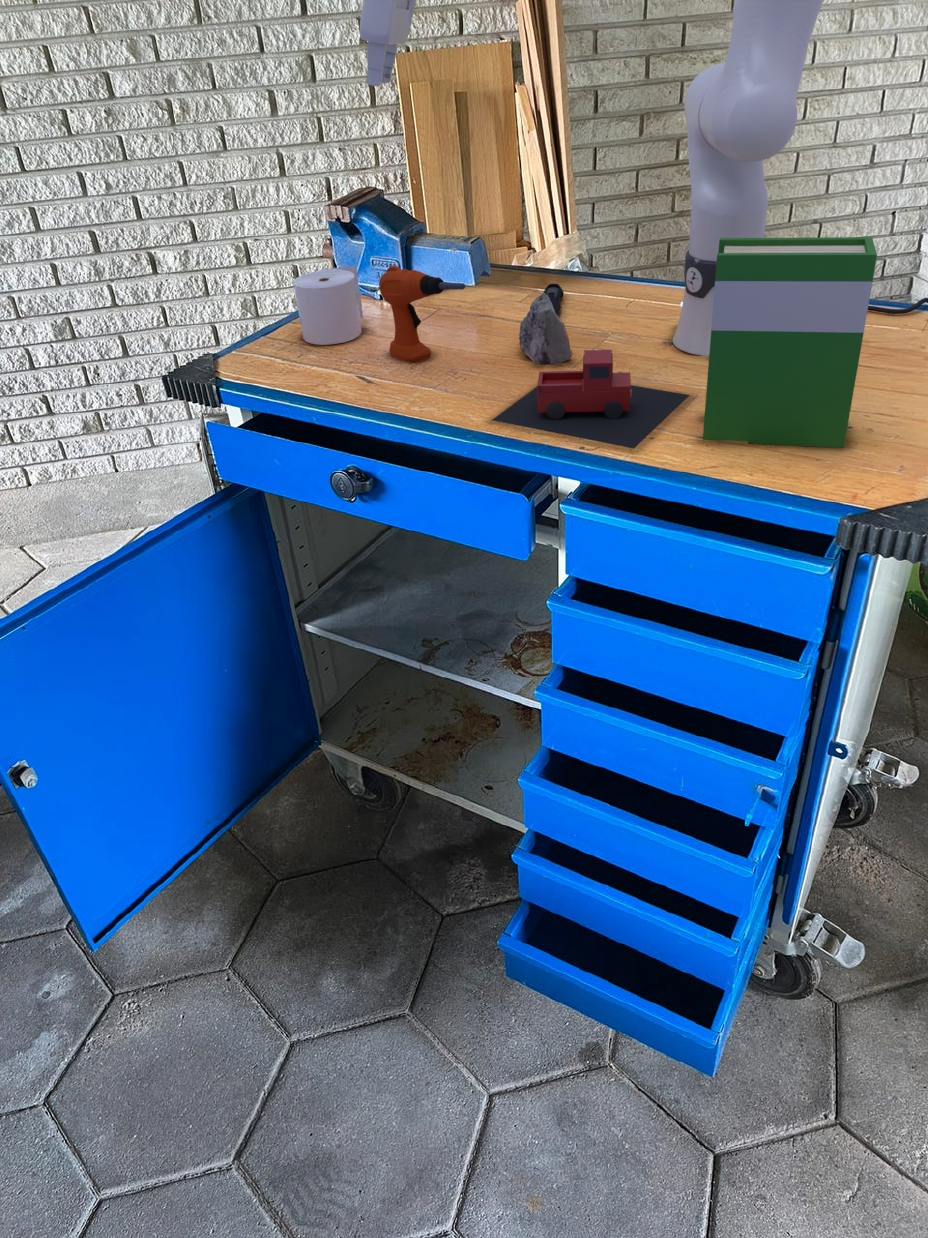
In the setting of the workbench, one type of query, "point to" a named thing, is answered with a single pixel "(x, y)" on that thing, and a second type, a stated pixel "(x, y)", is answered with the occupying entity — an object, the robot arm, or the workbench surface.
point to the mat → (600, 417)
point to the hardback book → (787, 338)
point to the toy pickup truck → (585, 388)
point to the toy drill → (409, 308)
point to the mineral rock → (544, 334)
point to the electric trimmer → (554, 296)
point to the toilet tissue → (329, 305)
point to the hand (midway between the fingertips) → (378, 83)
